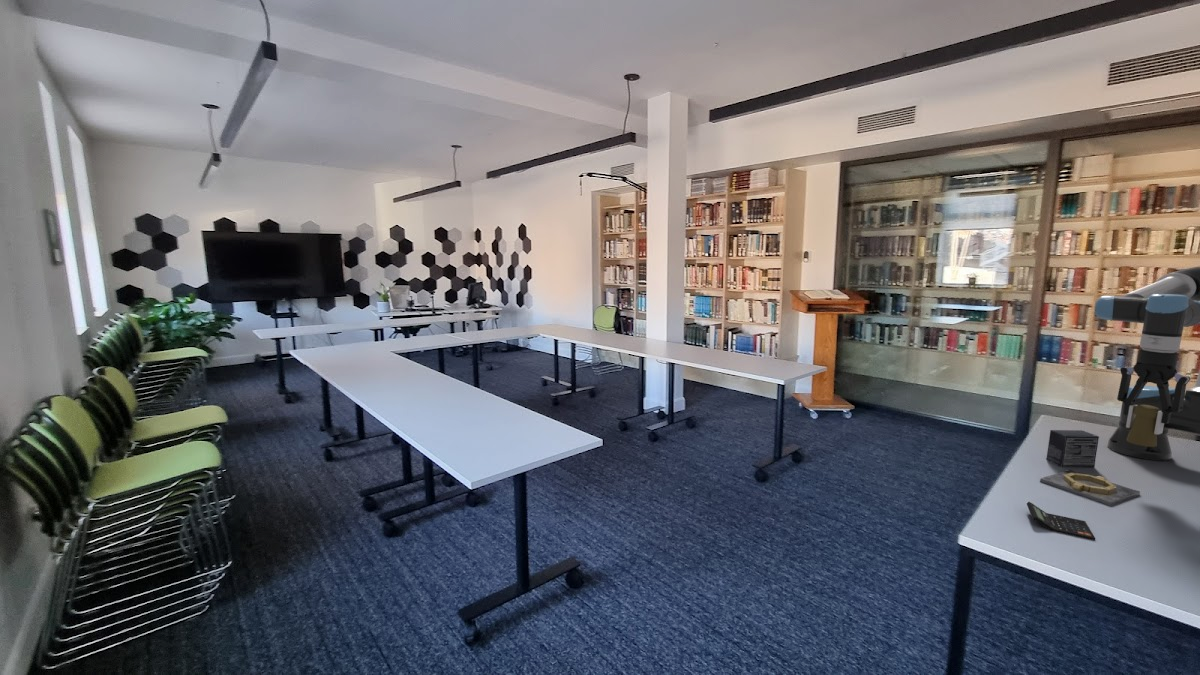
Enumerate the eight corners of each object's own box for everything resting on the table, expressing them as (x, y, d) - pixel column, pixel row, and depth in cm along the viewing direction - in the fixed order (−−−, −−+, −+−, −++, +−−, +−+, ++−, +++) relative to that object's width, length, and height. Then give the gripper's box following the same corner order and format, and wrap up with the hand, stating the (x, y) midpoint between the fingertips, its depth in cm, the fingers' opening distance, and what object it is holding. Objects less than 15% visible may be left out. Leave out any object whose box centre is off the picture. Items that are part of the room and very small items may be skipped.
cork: (1163, 447, 143) (1170, 409, 141) (1137, 445, 144) (1144, 408, 143) (1145, 439, 149) (1151, 403, 147) (1120, 438, 150) (1127, 402, 148)
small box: (1077, 459, 169) (1082, 429, 168) (1095, 468, 163) (1101, 436, 161) (1044, 459, 170) (1049, 428, 168) (1061, 467, 163) (1066, 435, 161)
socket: (1069, 472, 159) (1070, 466, 159) (1139, 494, 145) (1140, 487, 144) (1040, 481, 153) (1041, 474, 152) (1110, 505, 138) (1111, 498, 138)
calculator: (1094, 541, 121) (1096, 529, 121) (1031, 527, 127) (1033, 516, 127) (1084, 524, 129) (1086, 513, 129) (1025, 511, 135) (1026, 501, 135)
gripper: (1108, 345, 149) (1095, 422, 153) (1200, 357, 132) (1183, 443, 136) (1121, 343, 152) (1109, 418, 156) (1213, 355, 135) (1196, 438, 139)
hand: (1143, 430), depth 146 cm, fingers closed on cork, 5 cm apart
